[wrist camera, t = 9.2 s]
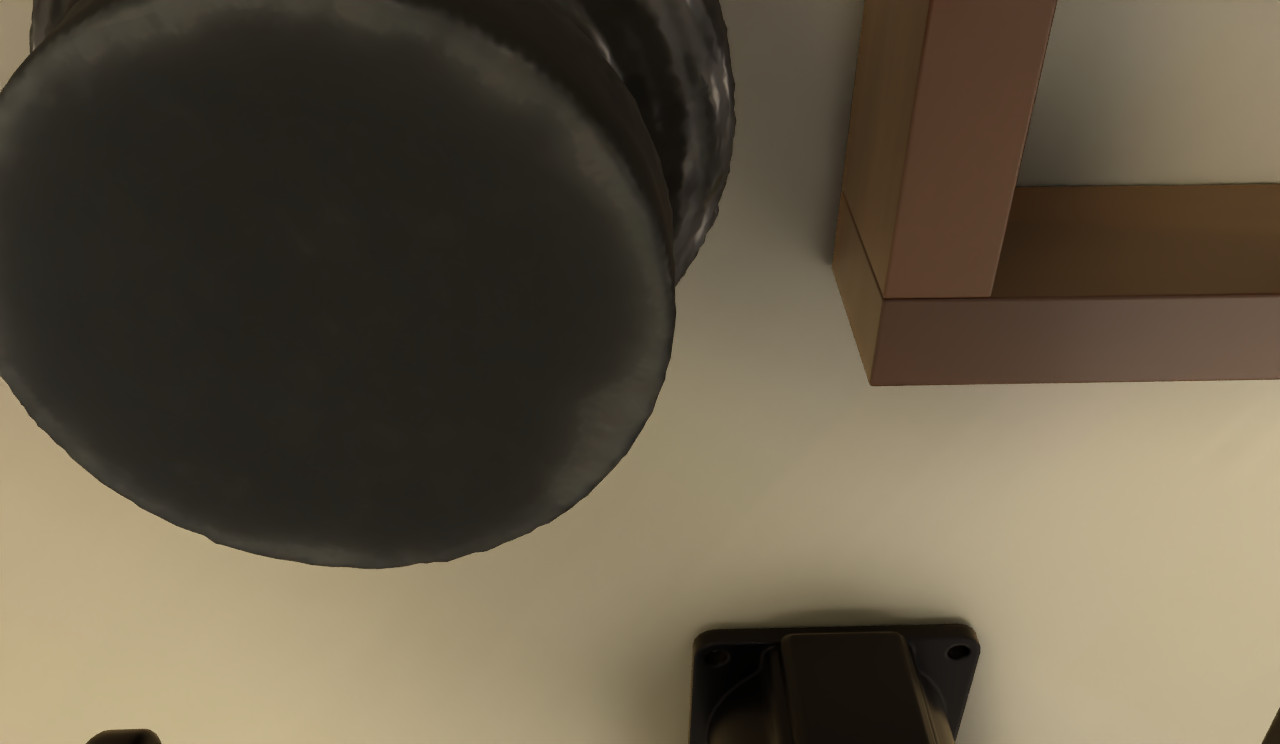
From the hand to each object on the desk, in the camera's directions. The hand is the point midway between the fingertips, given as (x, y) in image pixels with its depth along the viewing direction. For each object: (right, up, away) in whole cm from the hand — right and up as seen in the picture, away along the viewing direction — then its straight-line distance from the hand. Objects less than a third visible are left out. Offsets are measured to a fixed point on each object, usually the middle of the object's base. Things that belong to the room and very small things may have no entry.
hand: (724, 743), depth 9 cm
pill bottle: (-3, +10, +7) cm, 13 cm away
